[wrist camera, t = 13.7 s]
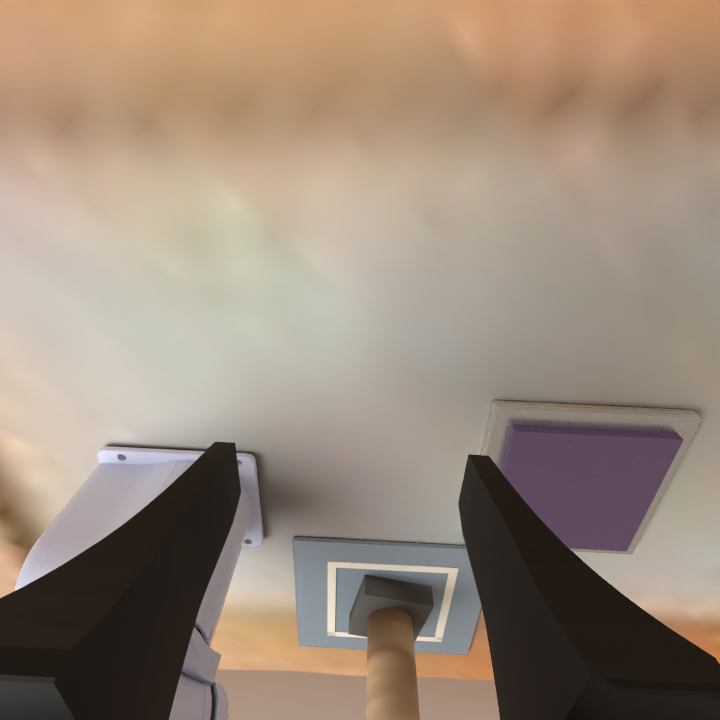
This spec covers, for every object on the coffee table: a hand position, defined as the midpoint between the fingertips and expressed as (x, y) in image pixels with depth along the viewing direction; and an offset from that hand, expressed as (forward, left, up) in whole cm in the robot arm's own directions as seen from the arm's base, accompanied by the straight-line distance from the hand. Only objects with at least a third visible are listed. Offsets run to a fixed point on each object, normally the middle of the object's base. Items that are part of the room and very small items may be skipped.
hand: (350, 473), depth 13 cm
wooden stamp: (+3, -22, -10) cm, 24 cm away
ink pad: (+13, -9, -10) cm, 19 cm away
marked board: (+3, -22, -10) cm, 24 cm away
